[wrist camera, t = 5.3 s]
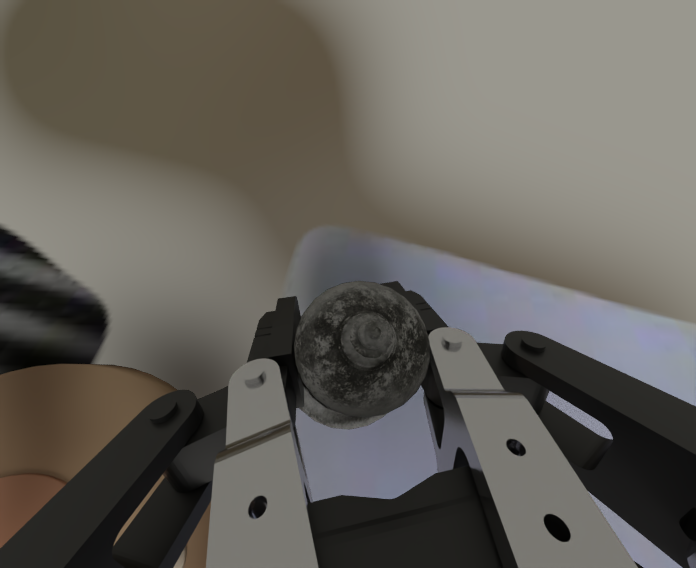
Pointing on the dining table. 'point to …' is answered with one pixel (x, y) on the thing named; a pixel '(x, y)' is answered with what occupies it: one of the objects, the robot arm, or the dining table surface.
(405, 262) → the dining table surface
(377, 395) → the stone chess piece
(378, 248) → the dining table surface
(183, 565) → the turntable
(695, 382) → the dining table surface
